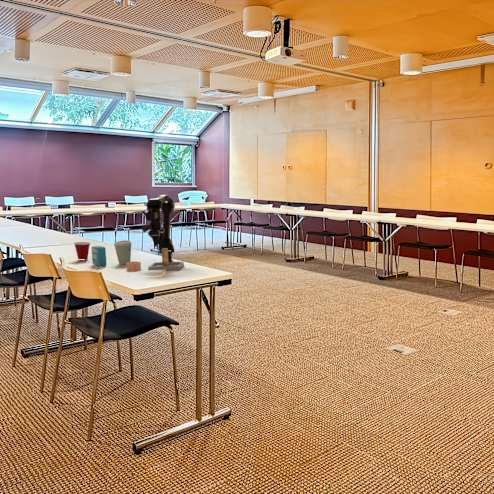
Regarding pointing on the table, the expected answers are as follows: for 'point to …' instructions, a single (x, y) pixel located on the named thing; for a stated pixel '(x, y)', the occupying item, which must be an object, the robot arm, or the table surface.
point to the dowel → (165, 257)
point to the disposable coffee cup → (123, 251)
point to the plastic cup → (82, 249)
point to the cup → (133, 266)
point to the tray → (171, 266)
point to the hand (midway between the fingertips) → (157, 245)
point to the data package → (99, 255)
